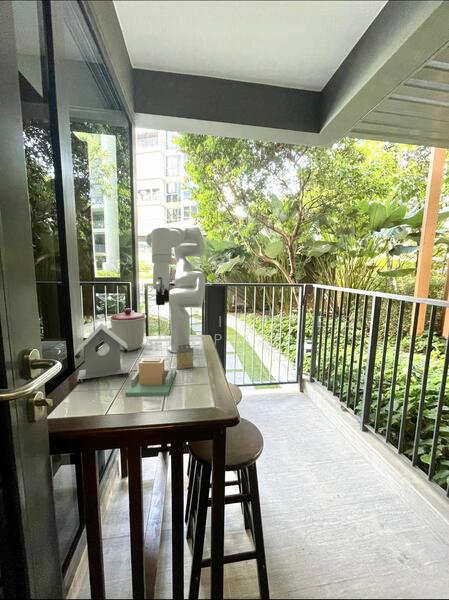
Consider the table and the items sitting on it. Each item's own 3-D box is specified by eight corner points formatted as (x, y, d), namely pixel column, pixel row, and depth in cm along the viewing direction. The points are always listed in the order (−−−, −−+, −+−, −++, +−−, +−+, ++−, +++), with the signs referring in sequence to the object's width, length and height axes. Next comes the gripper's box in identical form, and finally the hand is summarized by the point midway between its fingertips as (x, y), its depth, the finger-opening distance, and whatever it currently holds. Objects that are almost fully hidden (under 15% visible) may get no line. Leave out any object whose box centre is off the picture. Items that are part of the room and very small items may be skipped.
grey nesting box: (76, 384, 99) (72, 331, 96) (78, 374, 108) (75, 325, 105) (129, 376, 106) (127, 326, 104) (127, 367, 115) (125, 321, 112)
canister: (151, 343, 151) (150, 305, 148) (141, 353, 133) (140, 311, 130) (118, 342, 151) (116, 305, 148) (104, 353, 133) (102, 311, 130)
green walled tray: (141, 372, 110) (141, 363, 110) (176, 371, 111) (176, 363, 110) (125, 395, 91) (125, 385, 90) (167, 395, 91) (167, 385, 91)
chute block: (143, 378, 101) (142, 357, 100) (164, 378, 102) (164, 357, 100) (139, 384, 96) (138, 362, 95) (162, 384, 97) (161, 362, 96)
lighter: (192, 364, 119) (191, 342, 118) (194, 367, 115) (194, 345, 114) (175, 366, 117) (175, 344, 115) (177, 370, 113) (177, 346, 112)
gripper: (157, 259, 114) (158, 300, 116) (146, 259, 97) (148, 306, 99) (174, 260, 114) (175, 300, 117) (167, 259, 97) (168, 306, 100)
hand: (162, 303), depth 108 cm, fingers open, 9 cm apart
